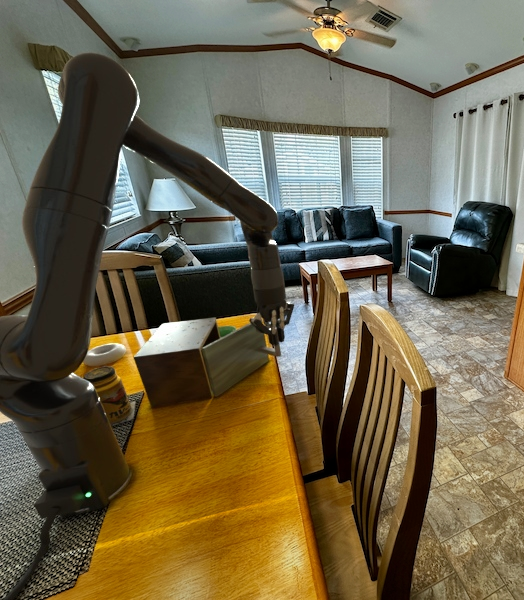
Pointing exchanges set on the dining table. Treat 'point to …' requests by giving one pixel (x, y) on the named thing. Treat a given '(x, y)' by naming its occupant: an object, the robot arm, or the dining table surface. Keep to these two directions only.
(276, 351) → the door
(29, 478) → the dining table surface
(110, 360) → the donut
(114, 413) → the condiment
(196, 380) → the cupboard
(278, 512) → the dining table surface
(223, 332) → the ramekin
